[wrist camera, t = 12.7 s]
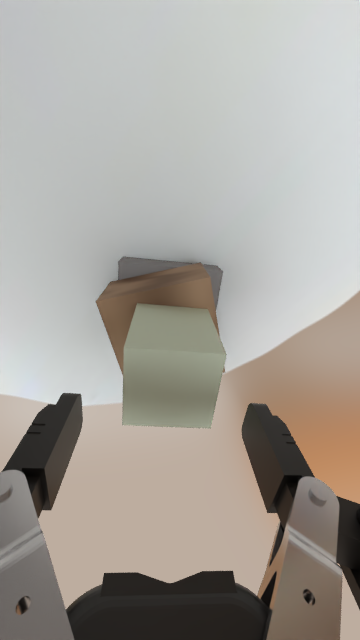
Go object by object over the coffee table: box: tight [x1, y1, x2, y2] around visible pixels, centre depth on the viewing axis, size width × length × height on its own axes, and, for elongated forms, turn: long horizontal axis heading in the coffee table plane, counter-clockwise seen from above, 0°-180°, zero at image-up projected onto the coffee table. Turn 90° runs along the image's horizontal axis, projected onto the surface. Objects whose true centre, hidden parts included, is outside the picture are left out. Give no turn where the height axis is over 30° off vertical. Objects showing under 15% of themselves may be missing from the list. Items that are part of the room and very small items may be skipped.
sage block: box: [122, 303, 226, 428], centre depth 16 cm, size 5×5×6 cm
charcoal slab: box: [118, 257, 223, 310], centre depth 25 cm, size 9×9×3 cm
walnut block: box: [96, 262, 225, 374], centre depth 21 cm, size 8×8×5 cm
